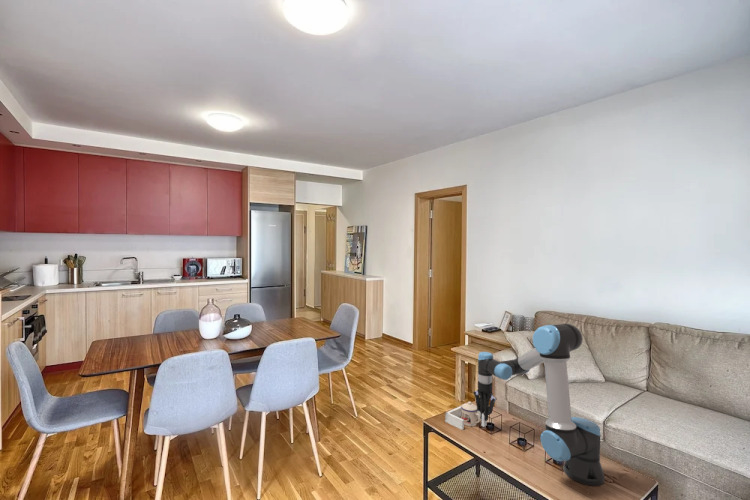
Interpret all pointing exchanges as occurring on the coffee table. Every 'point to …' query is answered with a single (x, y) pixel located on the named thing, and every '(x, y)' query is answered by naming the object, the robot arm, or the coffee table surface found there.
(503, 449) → the coffee table surface
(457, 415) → the cradle
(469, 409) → the teacup with lid
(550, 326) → the robot arm
